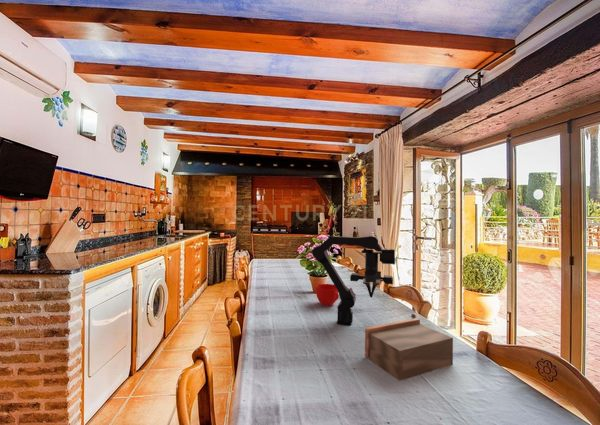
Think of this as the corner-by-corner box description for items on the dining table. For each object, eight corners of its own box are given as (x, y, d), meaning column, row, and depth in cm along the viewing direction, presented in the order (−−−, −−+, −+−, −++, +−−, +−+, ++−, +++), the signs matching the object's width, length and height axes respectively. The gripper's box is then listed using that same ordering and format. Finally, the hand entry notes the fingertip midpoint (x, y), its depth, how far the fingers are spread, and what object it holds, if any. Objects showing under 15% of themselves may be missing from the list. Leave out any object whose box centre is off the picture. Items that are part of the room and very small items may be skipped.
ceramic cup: (327, 311, 150) (327, 292, 151) (311, 302, 165) (311, 285, 166) (347, 307, 156) (347, 289, 157) (330, 299, 171) (330, 283, 172)
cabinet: (369, 359, 100) (369, 333, 100) (419, 347, 110) (419, 323, 110) (399, 380, 87) (399, 350, 87) (452, 364, 97) (452, 337, 97)
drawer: (364, 356, 101) (365, 327, 101) (416, 343, 112) (416, 318, 112) (393, 376, 88) (394, 344, 88) (449, 360, 99) (449, 331, 99)
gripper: (349, 264, 126) (348, 300, 126) (393, 267, 121) (392, 304, 121) (351, 261, 137) (351, 293, 137) (392, 263, 132) (392, 297, 132)
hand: (371, 297), depth 131 cm, fingers closed
